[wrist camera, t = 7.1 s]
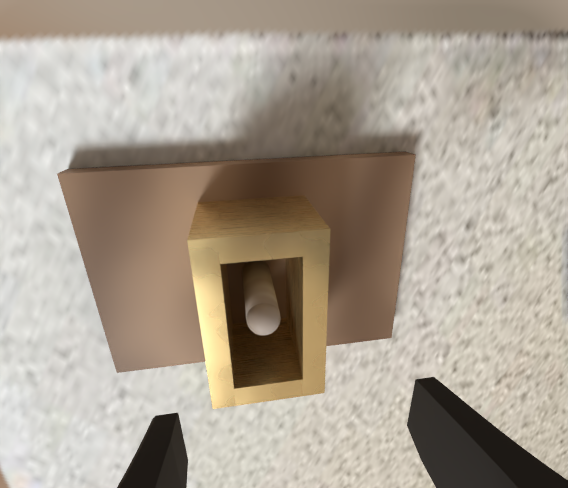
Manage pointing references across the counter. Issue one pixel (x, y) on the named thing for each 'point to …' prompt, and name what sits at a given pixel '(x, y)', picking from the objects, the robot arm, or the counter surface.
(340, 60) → the counter surface
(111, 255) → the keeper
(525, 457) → the robot arm
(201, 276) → the link
